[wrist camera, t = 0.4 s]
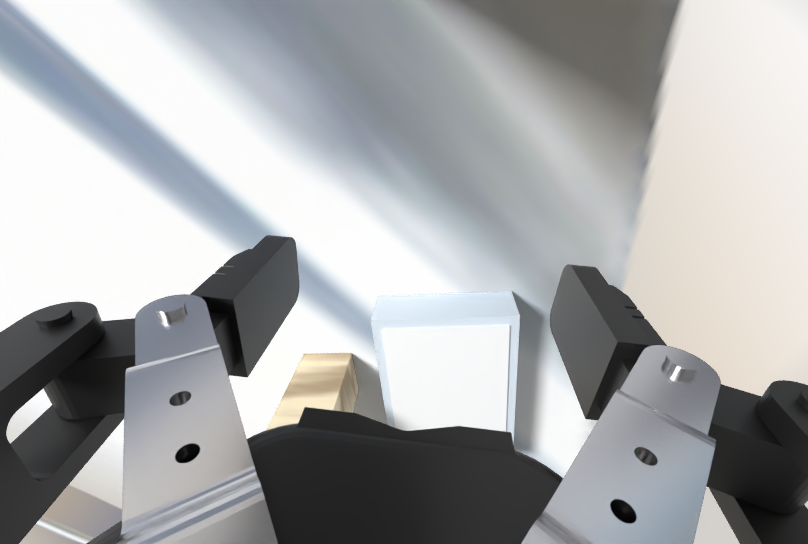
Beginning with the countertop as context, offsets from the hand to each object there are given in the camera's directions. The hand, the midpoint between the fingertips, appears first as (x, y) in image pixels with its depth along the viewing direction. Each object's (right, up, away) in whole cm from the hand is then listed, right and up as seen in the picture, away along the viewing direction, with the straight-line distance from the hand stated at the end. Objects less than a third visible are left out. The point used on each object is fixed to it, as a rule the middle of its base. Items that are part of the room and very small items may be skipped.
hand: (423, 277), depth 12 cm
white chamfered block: (+4, -10, +27) cm, 29 cm away
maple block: (-8, -10, +28) cm, 31 cm away
